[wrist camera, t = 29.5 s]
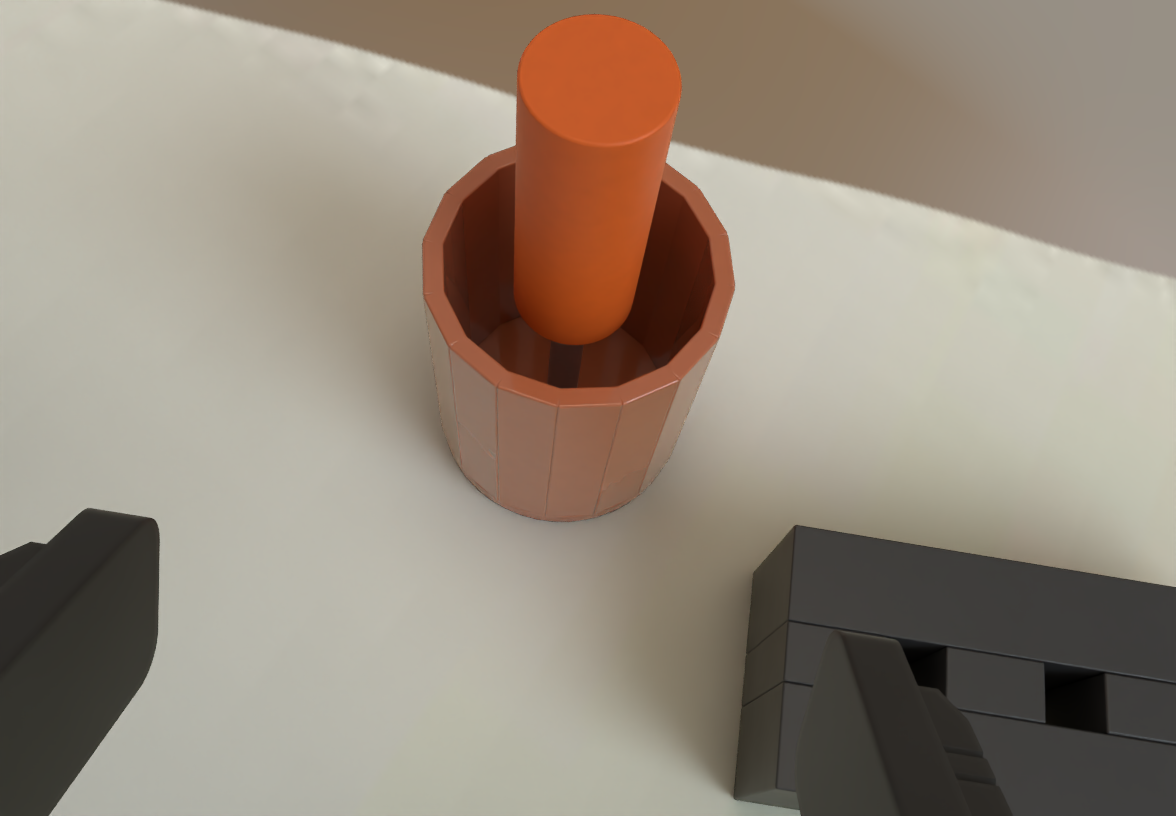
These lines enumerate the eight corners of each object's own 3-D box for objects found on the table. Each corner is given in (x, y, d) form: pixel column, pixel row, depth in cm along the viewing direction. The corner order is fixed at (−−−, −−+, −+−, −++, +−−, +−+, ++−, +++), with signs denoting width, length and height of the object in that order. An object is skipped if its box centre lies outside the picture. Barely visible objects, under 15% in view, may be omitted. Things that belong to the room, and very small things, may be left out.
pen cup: (503, 562, 32) (503, 457, 23) (405, 357, 34) (373, 196, 26) (719, 462, 33) (790, 332, 25) (611, 273, 36) (644, 97, 27)
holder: (1247, 882, 30) (1384, 887, 25) (733, 799, 30) (775, 789, 25) (1226, 649, 32) (1347, 615, 28) (753, 571, 32) (794, 523, 27)
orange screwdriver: (537, 462, 32) (561, 168, 18) (495, 380, 33) (489, 41, 19) (624, 423, 33) (712, 112, 19) (581, 344, 34) (635, -7, 20)
